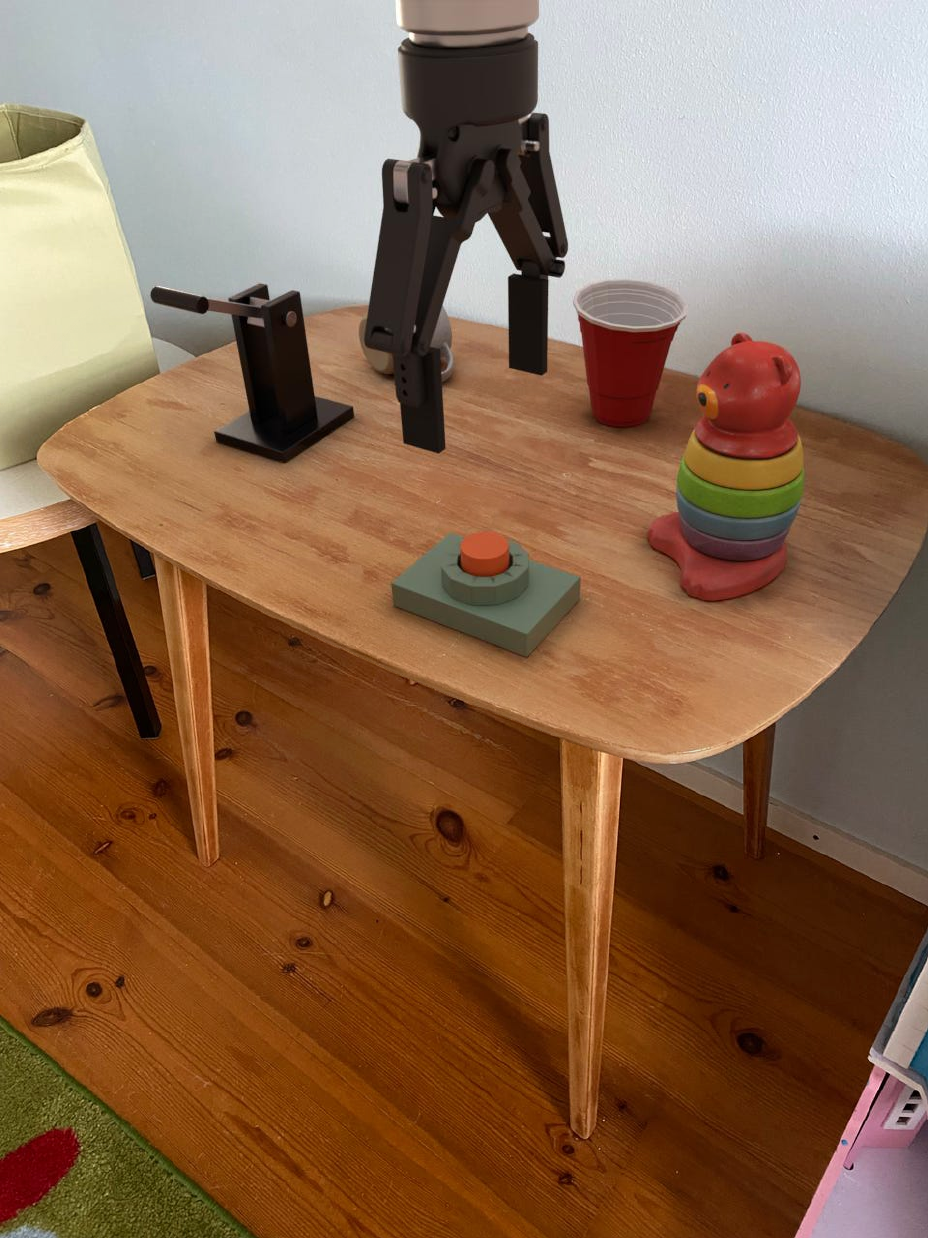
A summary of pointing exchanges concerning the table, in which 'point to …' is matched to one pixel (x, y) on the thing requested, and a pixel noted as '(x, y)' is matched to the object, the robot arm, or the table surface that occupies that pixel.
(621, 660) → the table surface
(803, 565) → the table surface
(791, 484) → the stacking bear
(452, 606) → the control block
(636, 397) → the plastic cup
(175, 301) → the lever
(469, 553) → the button
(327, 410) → the bracket
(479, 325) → the table surface
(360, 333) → the ceramic mug
